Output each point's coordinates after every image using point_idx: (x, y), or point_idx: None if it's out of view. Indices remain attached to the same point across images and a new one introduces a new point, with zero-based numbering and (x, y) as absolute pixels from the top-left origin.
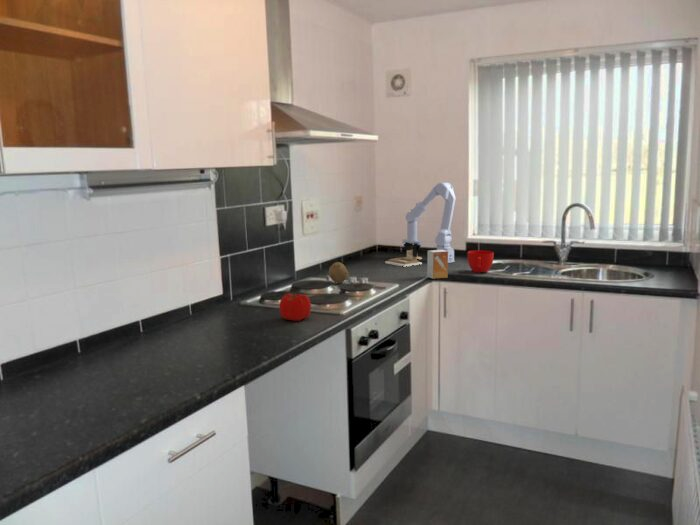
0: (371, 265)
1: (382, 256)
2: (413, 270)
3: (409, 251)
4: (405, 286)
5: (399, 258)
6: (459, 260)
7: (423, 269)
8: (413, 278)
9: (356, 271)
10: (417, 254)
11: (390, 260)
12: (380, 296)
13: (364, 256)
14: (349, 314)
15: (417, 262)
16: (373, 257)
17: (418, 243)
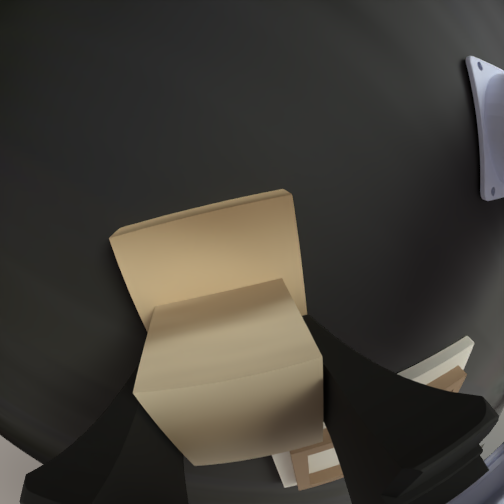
0: (294, 498)
1: (15, 409)
2: (479, 395)
3: (262, 449)
4: (499, 413)
5: (307, 461)
6: (487, 3)
7: (501, 361)
8: (500, 400)
9: (348, 501)
10: (295, 307)
11: (313, 481)
12: (486, 435)
13: (26, 449)
14: (481, 446)
15: (456, 370)
16: (54, 451)
17: (497, 474)
